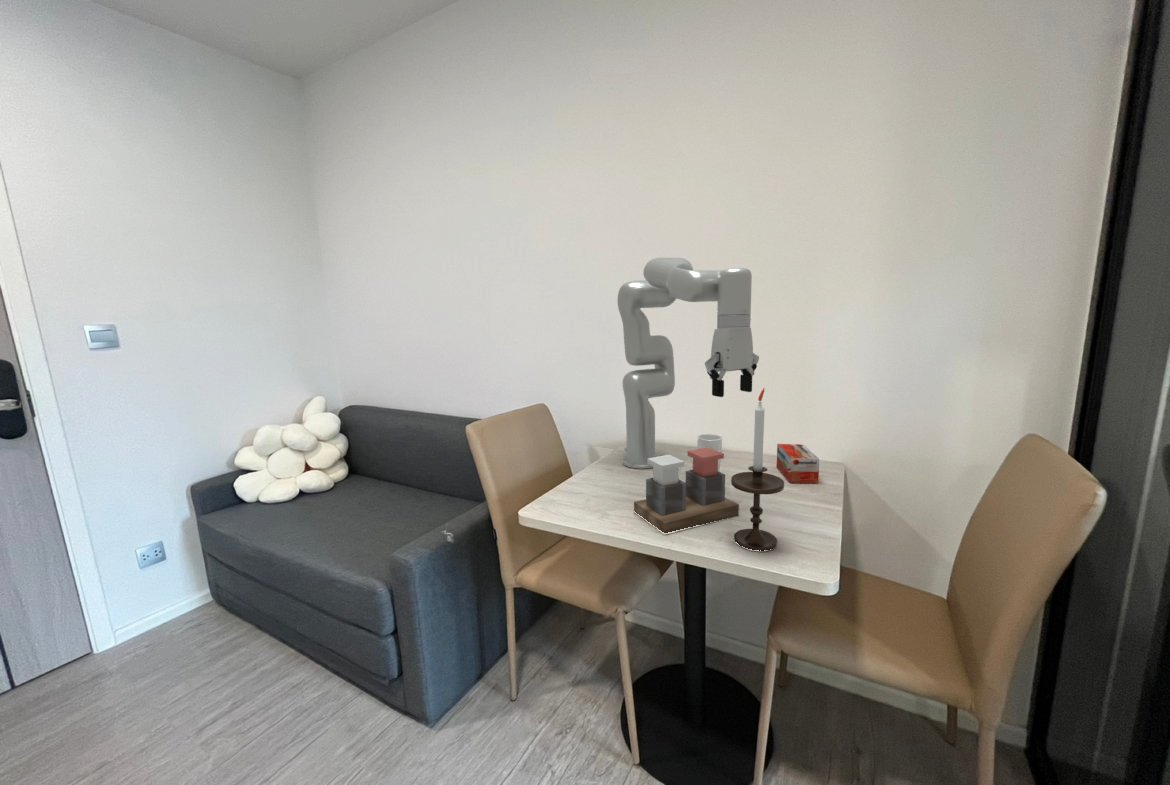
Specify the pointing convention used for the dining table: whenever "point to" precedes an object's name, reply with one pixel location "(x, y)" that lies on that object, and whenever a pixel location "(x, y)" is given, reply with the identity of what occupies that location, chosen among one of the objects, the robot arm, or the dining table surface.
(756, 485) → the candlestick
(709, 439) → the drinking glass
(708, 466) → the red plunger
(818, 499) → the dining table surface
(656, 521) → the board
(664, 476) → the grey plunger
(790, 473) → the medicine box
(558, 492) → the dining table surface
